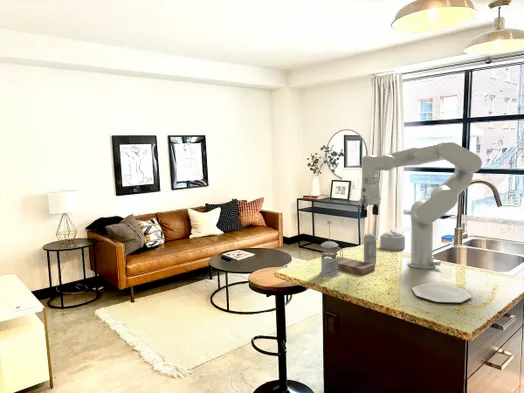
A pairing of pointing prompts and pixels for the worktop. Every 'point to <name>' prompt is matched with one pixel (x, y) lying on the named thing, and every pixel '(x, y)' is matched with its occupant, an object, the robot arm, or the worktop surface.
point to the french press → (326, 267)
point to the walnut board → (355, 266)
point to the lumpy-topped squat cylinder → (392, 241)
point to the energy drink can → (370, 248)
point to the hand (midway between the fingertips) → (369, 215)
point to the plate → (441, 293)
